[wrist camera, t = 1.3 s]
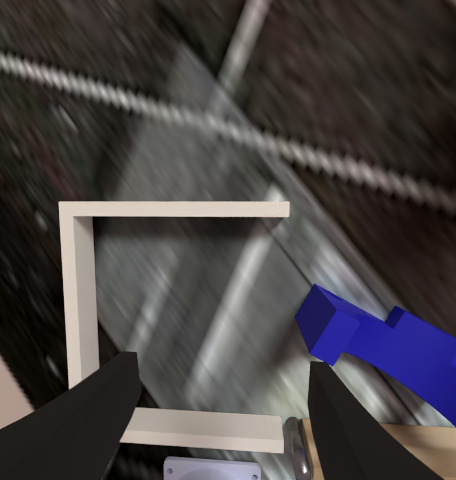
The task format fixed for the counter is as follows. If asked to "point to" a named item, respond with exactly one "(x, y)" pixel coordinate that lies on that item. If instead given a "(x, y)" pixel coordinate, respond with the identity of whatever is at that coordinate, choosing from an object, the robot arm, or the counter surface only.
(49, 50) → the counter surface
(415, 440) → the board
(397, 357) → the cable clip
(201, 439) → the cream square rimmed piece
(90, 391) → the robot arm
